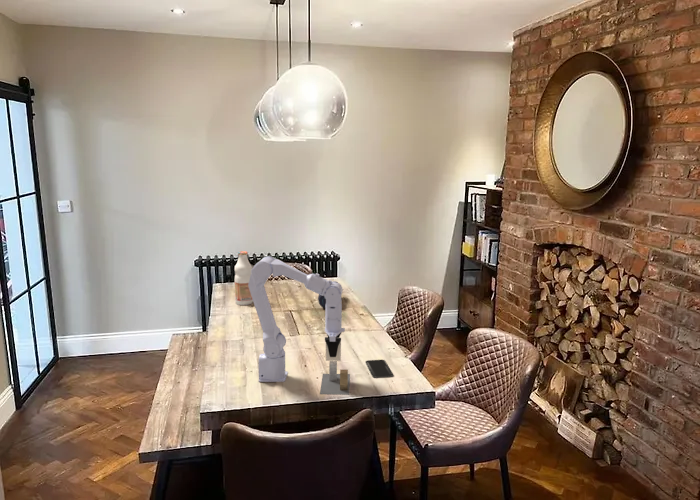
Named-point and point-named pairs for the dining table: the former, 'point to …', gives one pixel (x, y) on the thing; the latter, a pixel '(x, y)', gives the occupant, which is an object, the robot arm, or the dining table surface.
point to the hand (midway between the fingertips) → (333, 353)
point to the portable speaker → (322, 300)
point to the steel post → (333, 371)
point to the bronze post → (343, 379)
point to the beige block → (338, 356)
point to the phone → (379, 368)
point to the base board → (333, 386)
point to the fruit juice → (242, 280)
